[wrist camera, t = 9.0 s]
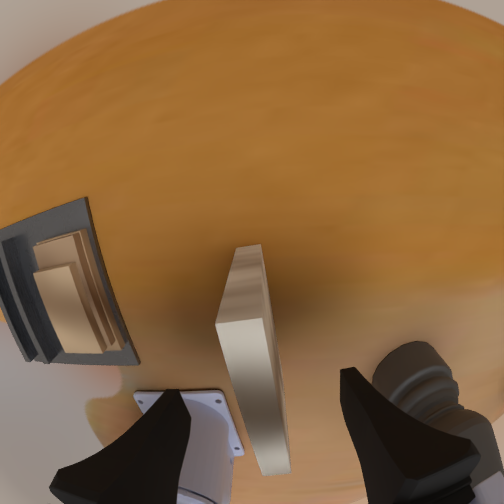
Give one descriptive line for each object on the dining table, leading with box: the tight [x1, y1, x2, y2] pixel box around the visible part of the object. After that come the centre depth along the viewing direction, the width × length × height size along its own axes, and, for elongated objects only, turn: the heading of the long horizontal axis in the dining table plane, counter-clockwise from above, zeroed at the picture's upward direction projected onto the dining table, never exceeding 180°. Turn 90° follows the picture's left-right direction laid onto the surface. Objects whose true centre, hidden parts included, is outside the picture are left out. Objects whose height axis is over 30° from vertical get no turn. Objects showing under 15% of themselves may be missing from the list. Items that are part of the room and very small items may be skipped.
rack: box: [0, 197, 141, 365], centre depth 18 cm, size 13×13×2 cm
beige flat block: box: [215, 244, 291, 476], centre depth 15 cm, size 10×2×9 cm, turn 10°
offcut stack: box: [33, 228, 125, 354], centre depth 17 cm, size 9×5×2 cm, turn 10°
